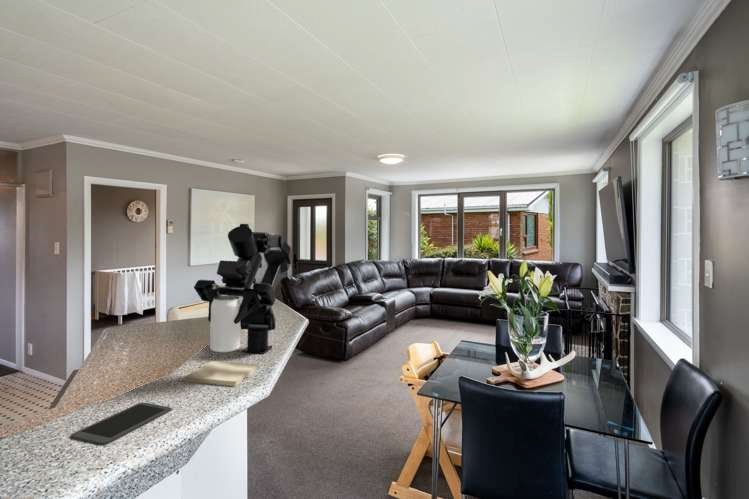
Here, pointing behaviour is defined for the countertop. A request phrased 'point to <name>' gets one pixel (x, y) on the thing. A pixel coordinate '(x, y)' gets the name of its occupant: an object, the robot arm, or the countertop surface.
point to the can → (224, 324)
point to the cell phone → (120, 423)
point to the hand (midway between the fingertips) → (222, 322)
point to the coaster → (222, 373)
